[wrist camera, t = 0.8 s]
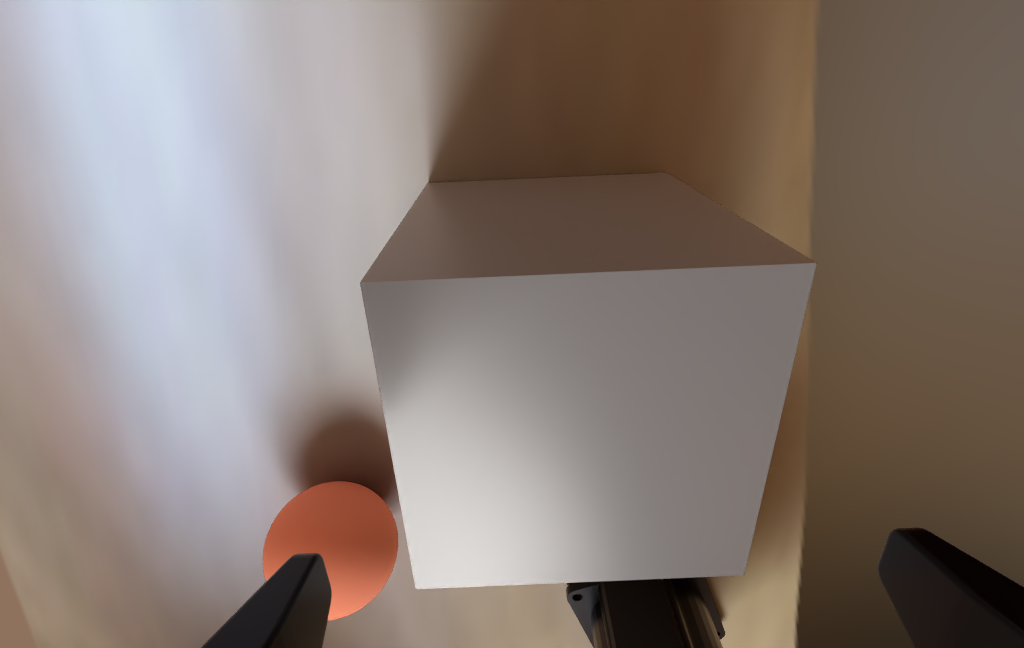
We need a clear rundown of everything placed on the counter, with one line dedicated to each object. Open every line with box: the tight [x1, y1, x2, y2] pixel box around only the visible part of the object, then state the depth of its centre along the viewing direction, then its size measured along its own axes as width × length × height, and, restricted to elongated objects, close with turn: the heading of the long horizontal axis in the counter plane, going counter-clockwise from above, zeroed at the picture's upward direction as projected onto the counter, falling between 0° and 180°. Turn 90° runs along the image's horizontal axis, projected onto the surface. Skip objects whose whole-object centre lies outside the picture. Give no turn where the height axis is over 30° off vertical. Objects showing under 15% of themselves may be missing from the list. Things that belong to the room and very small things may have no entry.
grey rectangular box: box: [360, 172, 817, 589], centre depth 14 cm, size 8×8×9 cm
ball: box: [263, 481, 398, 620], centre depth 20 cm, size 5×5×5 cm
